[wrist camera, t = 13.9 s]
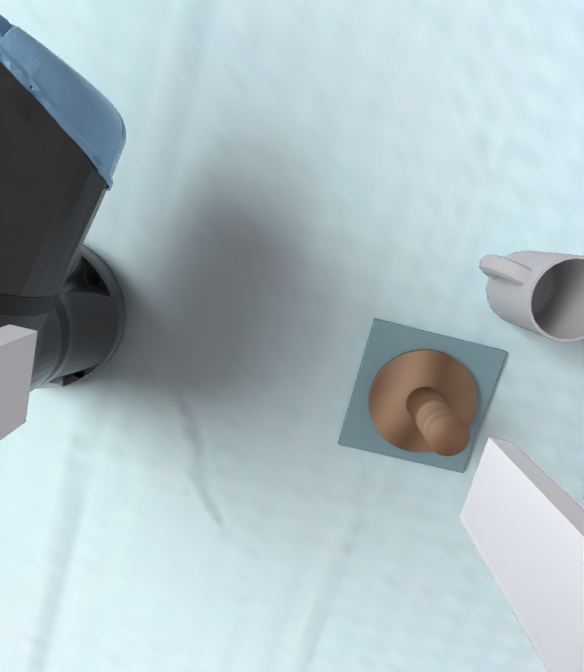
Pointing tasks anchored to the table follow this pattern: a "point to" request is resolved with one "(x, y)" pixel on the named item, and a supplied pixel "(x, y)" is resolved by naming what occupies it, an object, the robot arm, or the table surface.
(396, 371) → the lid
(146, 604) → the table surface
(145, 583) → the table surface
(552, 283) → the cup
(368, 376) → the mat
